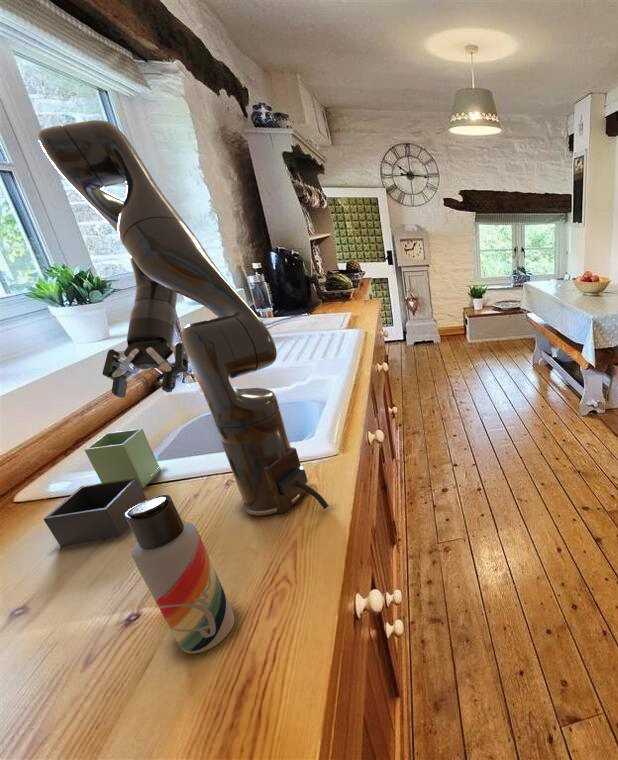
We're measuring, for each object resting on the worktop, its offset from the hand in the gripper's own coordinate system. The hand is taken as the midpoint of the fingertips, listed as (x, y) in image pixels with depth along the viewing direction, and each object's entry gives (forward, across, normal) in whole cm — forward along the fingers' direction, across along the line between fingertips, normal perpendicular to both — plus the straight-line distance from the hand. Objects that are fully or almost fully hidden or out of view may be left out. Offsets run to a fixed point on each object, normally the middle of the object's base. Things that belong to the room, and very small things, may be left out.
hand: (143, 393), depth 84 cm
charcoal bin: (+27, +2, -6) cm, 27 cm away
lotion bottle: (+45, +26, -24) cm, 57 cm away
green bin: (+18, -1, +3) cm, 18 cm away
